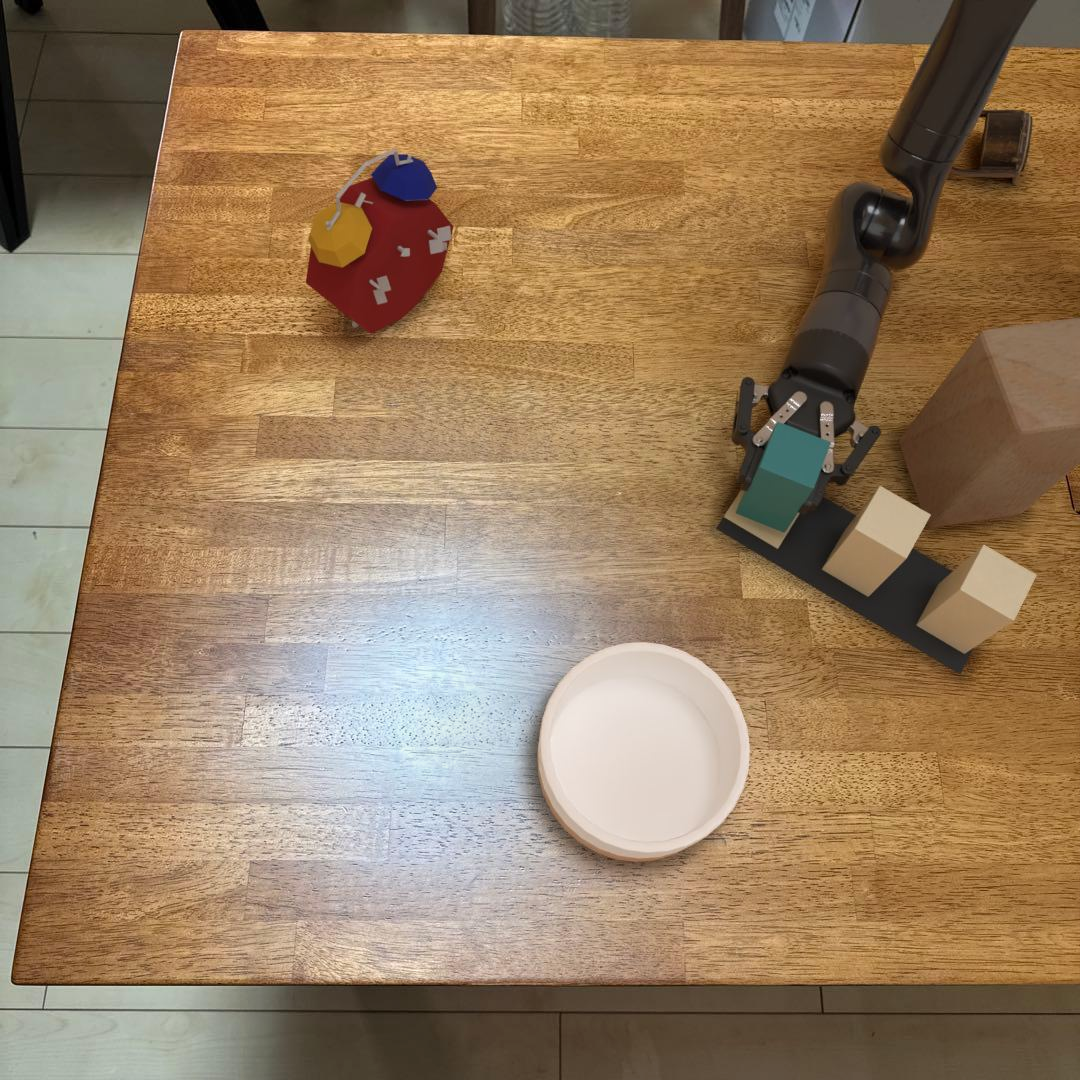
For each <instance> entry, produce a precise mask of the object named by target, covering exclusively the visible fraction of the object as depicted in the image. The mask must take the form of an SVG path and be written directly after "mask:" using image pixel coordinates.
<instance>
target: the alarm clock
mask: <svg viewBox="0 0 1080 1080" xmlns="http://www.w3.org/2000/svg"><path fill="white" fill-rule="evenodd" d="M382 159H384V160H382ZM380 160H382V161H381V162H380V163H379V164H378V166H377V167H376V168H375V169H374V170H373V171H372V172H371V173H370V176H371V177H370V178H367V179H365V180H362V181H359V182H356V183H354V182H355V181H356V179H357V178H358V177H359V175H361V173H363V171H364V170H365V169H366V168H367V167H368V166H370V165H371V164H374V163H376V162H378V161H380ZM353 183H354V184H353ZM437 189H438V185H437V183H436V181H435V178H434V176H433V173H432V172H431V170H430V168H429V167H428V166H427V164H426V163H425V162H424V161H423V160H421V159H419V158H417V157H414V156H413V155H412V154H406V153H404V154H403V153H398V148H397V147H394V148H392V149H390V150H388V151H386V152H384V153H382V154H380V155H377V156H375V157H373V158H372V159H369V160H367V161H366V162H363V163H362V164H361V165H360V167H358V169H356V171H355V172H354V173H353V175H351V177H350V178H349V180H348V181H347V182H345V184H344V185H343V186H342V187H341V189H339V191H338V192H337V193H336V194H335V202H334V203H332V204H330V205H328V206H327V207H325V208H324V209H322V210H321V211H319V212H317V213H316V214H315V216H314V219H313V223H312V225H311V229H310V232H309V236H308V243H309V245H310V248H309V249H310V250H309V256H308V263H307V264H308V265H307V270H306V271H307V272H306V277H305V284H306V285H308V286H309V287H310V288H311V289H312V290H314V291H315V292H316V293H317V294H318V295H320V296H321V297H323V298H324V299H325V300H326V301H327V302H328V303H330V304H331V305H332V306H334V307H335V308H336V309H337V310H339V311H340V312H341V313H342V314H343V315H345V316H346V317H347V318H349V319H350V320H351V326H352V327H353V328H355V329H357V328H358V327H361V329H363V330H365V331H366V332H367V333H369V334H370V335H372V334H374V333H376V332H379V331H380V330H382V329H384V328H387V327H388V326H390V325H392V324H394V323H396V322H398V321H400V320H402V319H403V318H404V317H406V316H407V315H408V314H409V312H411V311H412V310H413V309H415V308H416V307H417V305H418V304H419V303H420V301H421V300H422V299H423V297H424V296H425V295H426V293H428V291H429V290H430V288H431V287H432V285H433V284H434V283H435V282H436V280H437V279H438V278H439V277H440V275H441V274H442V272H443V269H444V264H445V261H446V258H447V253H448V250H449V247H450V246H449V245H450V241H451V240H452V234H453V231H454V225H453V224H452V223H451V222H450V220H449V219H448V218H447V216H446V215H445V214H444V212H443V211H442V210H441V209H440V207H439V206H438V205H437V204H436V203H435V202H434V201H433V200H431V199H430V198H431V197H432V196H433V194H435V192H436V190H437Z"/></svg>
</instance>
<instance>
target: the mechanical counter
mask: <svg viewBox="0 0 1080 1080" xmlns="http://www.w3.org/2000/svg"><path fill="white" fill-rule="evenodd" d="M979 119H985V120H984V127H983V131H982V136H981V141H980V142H981V143H980V146H979V152H978V153H979V155H980V162H979V166H978V169H962V168H959V167H955V166H954V165H953V166H952V168H951V170H950V173H949V174H952V175H955V176H960V177H964V178H999V179H1000V178H1002V179H1003V178H1006V179H1007V178H1008V179H1009V178H1011V184H1012V185H1014V186H1015V185H1017V184H1018V182H1019V179H1020V175H1021V174H1022V172H1024V170H1025V167H1026V163H1027V161H1028V157H1029V152H1030V147H1031V146H1030V145H1031V137H1032V133H1033V124H1034V123H1033V122H1034V121H1033V116H1032V115H1031V113H1030V112H1026V111H1024V110H1022V109H983V111H982V113H981V115H980V117H979Z"/></svg>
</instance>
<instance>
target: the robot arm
mask: <svg viewBox="0 0 1080 1080" xmlns="http://www.w3.org/2000/svg"><path fill="white" fill-rule="evenodd" d="M1037 2H1038V0H951V1H950V4H949V7H948V9H947V11H946V14H945V16H944V18H943V19H942V21H941V24H940V26H939V28H938V30H937V32H936V34H935V36H934V37H933V40H932V42H931V44H930V45H929V48H928V50H927V51H926V54H925V55H924V57H923V59H922V61H921V63H920V65H919V66H918V68H917V70H916V72H915V74H914V76H913V78H912V80H911V82H910V84H909V86H908V88H907V90H906V92H905V94H904V96H903V98H902V99H901V102H900V104H899V106H898V108H897V110H896V112H895V114H894V116H893V118H892V120H891V122H890V124H889V126H888V128H887V130H886V133H885V134H884V136H883V138H882V141H881V143H880V146H879V148H878V152H877V156H878V157H877V158H878V162H879V164H880V166H881V167H882V168H883V169H884V170H885V171H886V173H888V174H889V175H890V176H892V177H893V178H894V179H895V180H897V181H898V182H899V183H901V184H902V185H904V186H905V187H906V188H907V189H908V191H909V192H910V194H911V197H912V198H911V197H907V196H905V195H902V194H900V193H898V192H895V191H893V190H889V189H887V188H885V187H882V186H880V185H877V184H874V183H872V182H869V181H865V180H857V181H852V182H851V183H848V184H846V185H845V186H844V187H842V188H841V189H840V190H839V191H838V192H837V193H836V194H835V196H834V197H833V199H832V200H831V203H830V205H829V207H828V210H827V214H826V218H825V225H824V252H823V253H824V254H823V265H822V271H821V275H820V278H819V280H818V283H817V286H816V288H815V291H814V294H813V296H812V298H811V302H810V303H809V305H808V308H807V309H806V310H805V313H804V314H803V316H802V318H801V319H800V322H799V323H798V326H797V329H796V331H795V333H794V334H793V336H792V341H791V344H790V347H789V349H788V352H787V354H786V356H785V359H784V361H783V364H782V367H781V369H780V371H779V373H778V376H777V378H776V380H774V381H773V382H772V383H770V384H769V385H764V384H758V383H756V382H755V379H754V378H752V377H750V376H745V377H744V378H742V380H741V382H740V385H739V388H738V390H737V392H736V395H735V396H736V397H735V404H734V413H733V419H732V420H733V422H732V428H731V429H732V430H731V438H730V439H731V442H732V443H733V445H736V446H741V447H742V448H743V449H744V452H745V454H744V457H743V460H742V462H741V464H740V467H739V470H738V472H737V474H736V482H737V483H738V484H739V483H740V484H741V485H740V488H739V490H740V491H741V490H743V491H746V492H747V491H748V489H749V487H750V485H751V483H752V480H753V477H754V475H755V472H756V470H757V467H758V465H759V462H760V460H761V457H762V454H763V452H764V447H765V445H766V443H767V442H768V439H769V437H770V435H771V433H772V431H773V429H774V427H775V425H776V423H777V422H780V423H783V424H785V425H788V426H791V427H793V428H796V429H798V430H801V431H803V432H806V433H809V434H811V435H814V436H816V437H819V438H821V439H824V440H827V441H829V442H831V444H830V446H829V449H828V452H827V455H826V457H825V460H824V463H823V465H822V468H821V471H820V474H819V476H818V479H817V482H816V484H815V487H814V489H813V491H812V492H811V494H810V495H809V497H808V498H807V500H806V501H805V503H804V504H803V505H802V507H801V508H800V510H799V511H798V513H801V514H803V515H806V514H807V512H808V511H812V512H813V511H814V510H815V509H816V508H817V507H818V505H819V504H820V502H821V500H822V497H824V494H825V491H826V488H827V486H828V484H830V483H835V484H836V485H837V486H840V487H842V486H845V485H846V484H847V483H848V481H850V479H851V477H852V476H853V475H854V473H855V472H856V471H857V469H858V468H859V466H860V465H861V463H862V462H863V461H864V459H865V458H866V456H867V455H868V453H869V452H870V450H871V449H872V447H874V445H875V443H876V442H877V440H878V439H879V437H880V436H881V434H882V430H881V428H880V427H879V426H877V425H870V426H869V427H868V426H866V425H865V424H863V423H862V422H860V421H859V420H857V419H856V417H857V416H856V412H855V406H856V405H855V404H856V402H857V399H858V397H859V393H860V390H861V388H862V385H863V382H864V379H865V377H866V374H867V372H868V368H869V366H870V363H871V360H872V358H873V355H874V352H875V349H876V346H877V342H878V338H879V331H880V327H881V324H882V322H883V319H884V317H885V313H886V310H887V307H888V305H889V303H890V300H891V297H892V295H893V289H894V278H893V275H892V272H902V271H906V270H908V269H910V268H912V267H914V266H915V265H916V264H917V263H918V262H919V261H920V260H922V258H923V257H924V255H925V254H926V253H927V250H928V248H929V245H930V242H931V239H932V234H933V231H934V225H935V221H936V216H937V212H938V206H939V203H940V201H941V196H942V192H943V189H944V187H945V184H946V182H947V179H948V177H949V175H950V174H951V173H950V170H951V168H952V166H953V167H954V164H955V163H956V161H957V159H958V157H959V155H960V153H961V151H962V150H963V148H964V146H965V145H966V143H967V141H968V139H969V137H970V135H971V133H972V132H973V130H974V128H975V126H976V124H977V123H978V121H979V119H980V118H979V117H980V115H981V113H982V111H983V110H985V107H986V105H987V103H988V101H989V99H990V97H991V95H992V92H993V90H994V88H995V86H996V83H997V82H998V79H999V76H1000V74H1001V71H1002V70H1003V67H1004V65H1005V62H1006V60H1007V57H1008V55H1009V54H1010V52H1011V49H1012V46H1013V45H1014V42H1015V40H1016V38H1017V36H1018V34H1019V33H1020V31H1021V29H1022V27H1023V25H1024V24H1025V22H1026V20H1027V18H1028V17H1029V15H1030V13H1031V12H1032V10H1033V8H1034V7H1035V5H1036V3H1037ZM891 271H892V272H891ZM762 400H765V404H766V406H767V409H768V411H769V415H770V418H769V419H768V421H767V422H766V423H765V425H763V426H762V427H761V428H760V429H759V431H757V432H755V430H753V429H752V428H751V422H752V412H753V409H755V408H756V407H757V406H759V403H760V401H762ZM847 432H848V433H849V434H850V439H849V445H850V447H851V448H852V449H853V450H852V451H851V453H850V454H849V455H848V457H847V458H846V459H845V461H844V462H843V463H835V455H834V454H835V453H834V451H835V446H836V444H835V441H836V440H835V439H837V438H838V437H839V436H842V435H843V434H845V433H847Z"/></svg>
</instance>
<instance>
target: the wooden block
mask: <svg viewBox="0 0 1080 1080" xmlns="http://www.w3.org/2000/svg"><path fill="white" fill-rule="evenodd" d="M898 445H899V447H900V448H899V449H900V450H901V453H902V456H903V460H904V462H905V465H906V469H907V471H908V475H909V478H910V480H911V483H912V486H913V489H914V492H915V495H916V498H917V502H918V504H919V508H920V509H922V510H924V511H925V512H927V513H929V514H931V516H930V518H929V519H928V521H927V523H926V526H927V527H928V528H940V527H946V526H953V525H959V524H966V523H972V522H973V523H974V522H979V521H987V520H993V519H1000V518H1008V517H1013V516H1014V517H1015V516H1020V515H1022V514H1023V513H1024V512H1025V511H1026V510H1028V509H1030V507H1031V506H1033V504H1034V503H1036V502H1037V501H1038V500H1039V499H1041V498H1042V497H1043V496H1044V495H1045V494H1046V493H1047V492H1048V491H1050V490H1051V489H1052V488H1053V487H1054V486H1056V485H1057V484H1058V483H1059V482H1060V481H1061V480H1062V479H1063V478H1064V477H1066V476H1067V475H1068V474H1069V473H1070V472H1071V471H1073V470H1074V469H1075V468H1076V467H1077V466H1078V465H1079V464H1080V317H1074V318H1073V317H1072V318H1064V319H1057V320H1052V321H1051V320H1049V321H1042V322H1035V323H1027V324H1019V325H1018V324H1017V325H1012V326H1004V327H997V328H996V327H995V328H988V329H984V330H982V331H980V332H979V333H978V334H977V336H976V337H975V339H974V340H973V341H972V343H970V345H969V346H968V347H967V349H966V350H965V352H964V353H963V355H961V357H960V358H959V359H958V361H957V362H956V364H955V365H954V366H953V367H952V368H951V370H950V372H949V373H948V374H947V376H946V377H945V378H944V380H943V381H942V382H941V384H940V385H939V386H938V387H937V389H936V390H935V392H934V393H933V394H932V395H931V397H930V398H929V399H928V401H927V402H926V403H925V404H924V406H923V407H922V409H921V410H920V411H919V412H918V413H917V416H915V418H914V419H913V420H912V421H911V423H910V425H909V426H908V427H907V428H906V430H905V431H904V433H902V435H901V436H900V437H899V439H898Z"/></svg>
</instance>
